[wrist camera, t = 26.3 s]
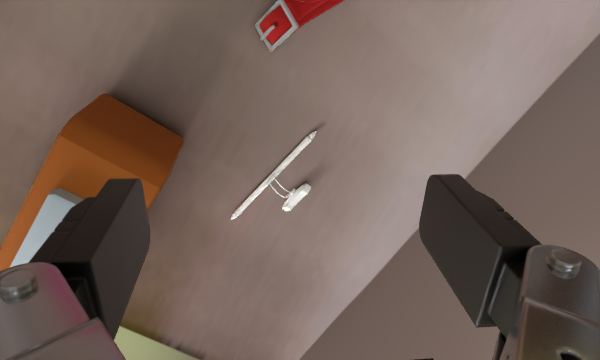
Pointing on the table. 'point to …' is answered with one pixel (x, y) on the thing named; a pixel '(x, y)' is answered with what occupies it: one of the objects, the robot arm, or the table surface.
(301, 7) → the tracker holder
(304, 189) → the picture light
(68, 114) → the table surface
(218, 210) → the table surface
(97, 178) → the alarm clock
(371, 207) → the table surface
